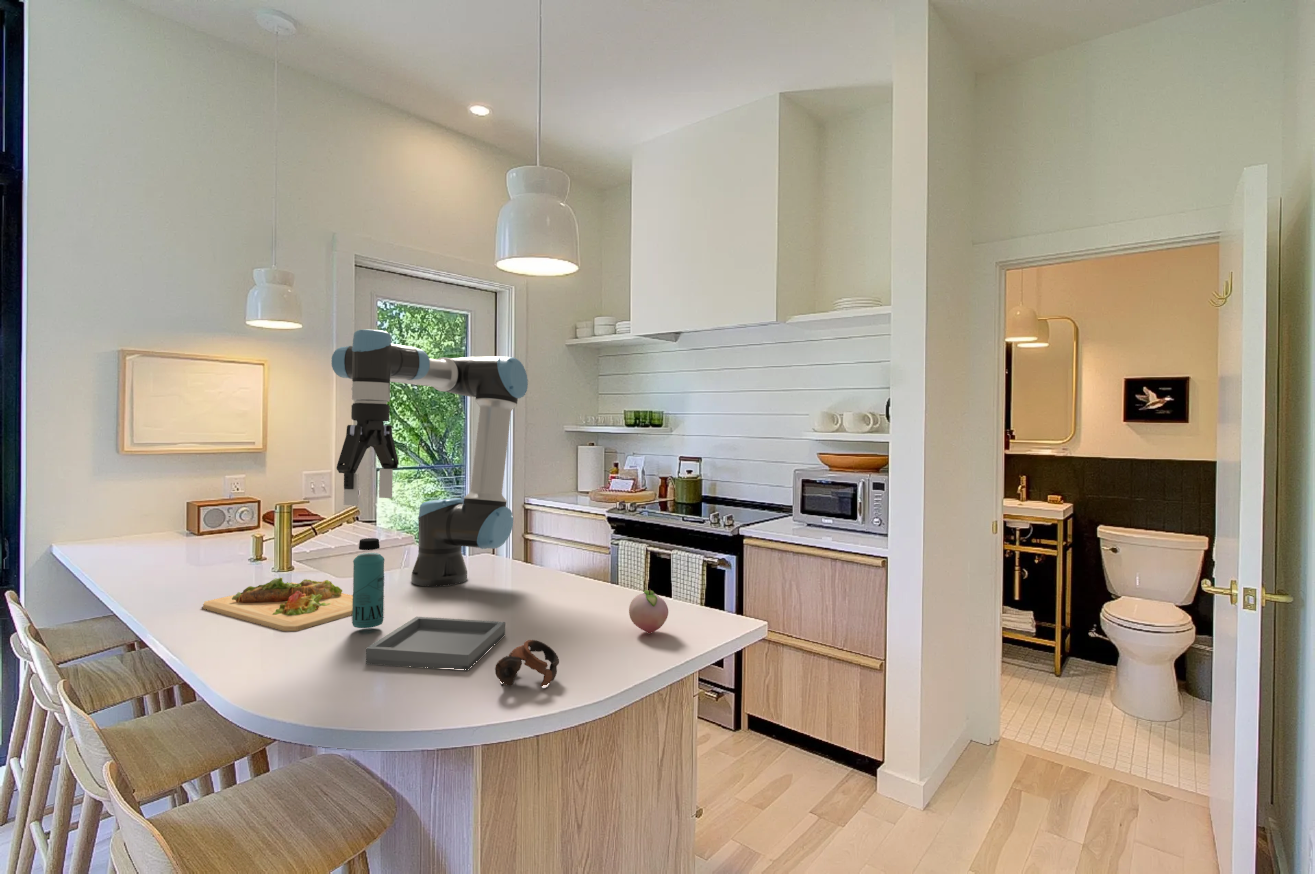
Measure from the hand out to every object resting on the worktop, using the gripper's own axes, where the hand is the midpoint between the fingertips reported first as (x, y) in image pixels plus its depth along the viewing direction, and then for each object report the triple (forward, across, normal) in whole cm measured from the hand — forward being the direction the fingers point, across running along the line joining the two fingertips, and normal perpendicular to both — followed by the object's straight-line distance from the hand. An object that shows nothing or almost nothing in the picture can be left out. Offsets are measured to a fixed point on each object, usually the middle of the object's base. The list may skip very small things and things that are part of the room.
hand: (369, 501), depth 141 cm
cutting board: (+29, -13, -27) cm, 42 cm away
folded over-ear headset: (+28, +21, +42) cm, 55 cm away
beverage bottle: (+28, 0, 0) cm, 28 cm away
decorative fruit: (+28, -9, +60) cm, 67 cm away
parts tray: (+28, +8, +20) cm, 35 cm away
